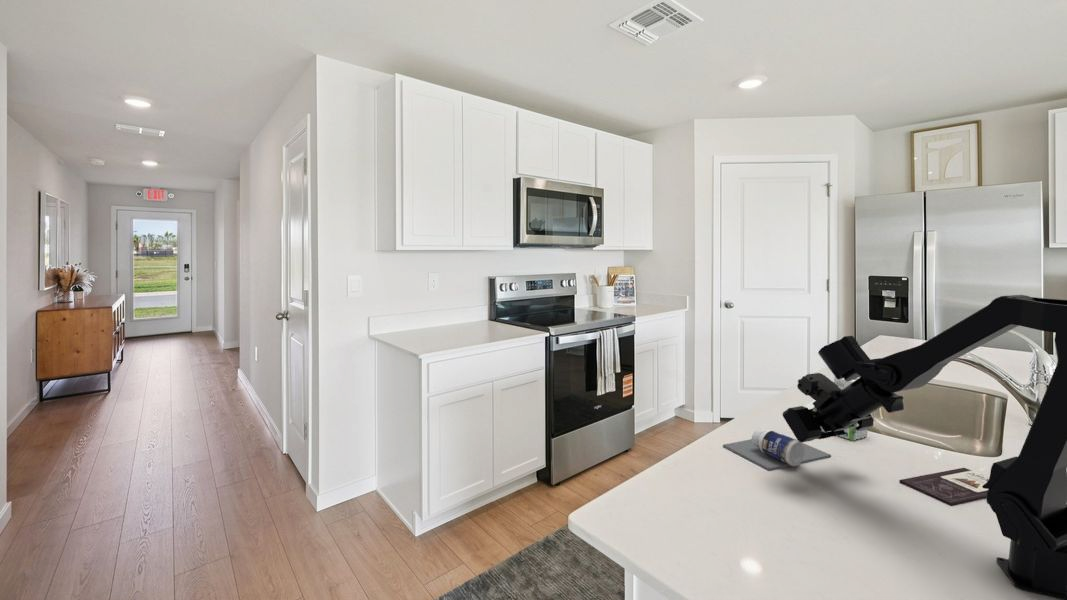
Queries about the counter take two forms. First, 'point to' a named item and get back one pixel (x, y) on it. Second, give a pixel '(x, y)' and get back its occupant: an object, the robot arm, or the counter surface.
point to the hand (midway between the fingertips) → (800, 437)
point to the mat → (768, 462)
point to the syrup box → (852, 432)
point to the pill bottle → (779, 446)
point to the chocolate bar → (950, 486)
